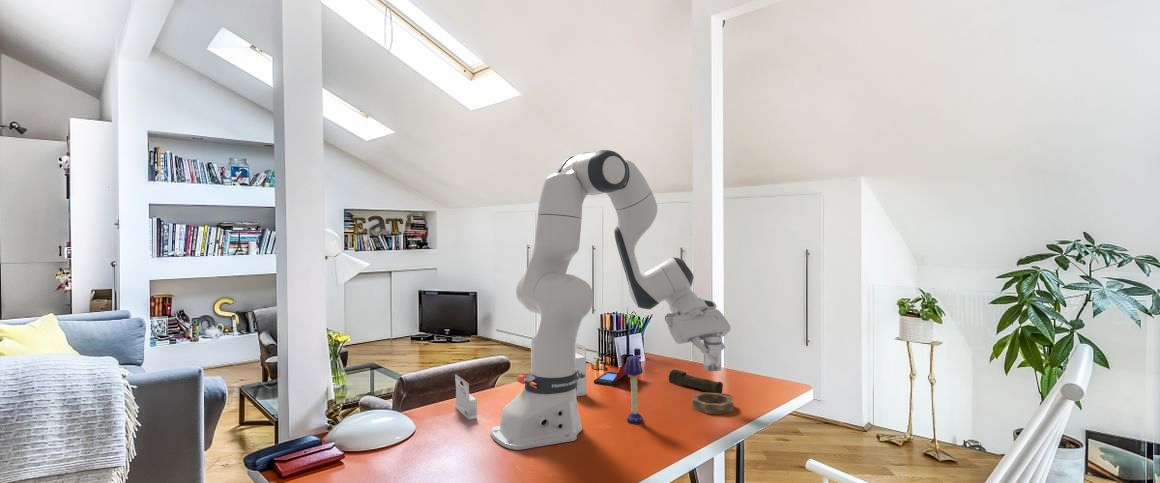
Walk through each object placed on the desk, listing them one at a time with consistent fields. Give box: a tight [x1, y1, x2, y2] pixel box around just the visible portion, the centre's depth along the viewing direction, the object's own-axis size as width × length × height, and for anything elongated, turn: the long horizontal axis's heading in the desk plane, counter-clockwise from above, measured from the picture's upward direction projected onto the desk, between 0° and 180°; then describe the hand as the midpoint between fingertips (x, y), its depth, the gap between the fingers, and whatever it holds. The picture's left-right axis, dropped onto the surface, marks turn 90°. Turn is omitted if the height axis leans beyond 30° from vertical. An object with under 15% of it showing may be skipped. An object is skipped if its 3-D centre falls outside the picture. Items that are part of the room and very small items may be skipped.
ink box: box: [575, 342, 587, 398], centre depth 159 cm, size 8×5×15 cm, turn 26°
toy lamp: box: [625, 355, 644, 425], centre depth 135 cm, size 5×5×17 cm
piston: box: [702, 335, 723, 372], centre depth 145 cm, size 5×5×9 cm
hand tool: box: [668, 368, 724, 394], centre depth 164 cm, size 19×4×5 cm, turn 41°
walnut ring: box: [692, 391, 734, 415], centre depth 145 cm, size 11×11×2 cm
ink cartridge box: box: [454, 373, 478, 421], centre depth 141 cm, size 2×11×10 cm, turn 32°
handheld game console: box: [593, 363, 629, 387], centre depth 172 cm, size 12×11×7 cm
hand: (714, 350), depth 145 cm, fingers closed on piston, 5 cm apart
